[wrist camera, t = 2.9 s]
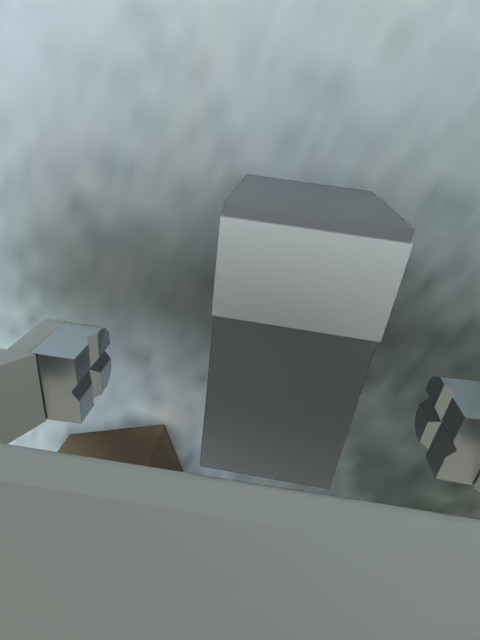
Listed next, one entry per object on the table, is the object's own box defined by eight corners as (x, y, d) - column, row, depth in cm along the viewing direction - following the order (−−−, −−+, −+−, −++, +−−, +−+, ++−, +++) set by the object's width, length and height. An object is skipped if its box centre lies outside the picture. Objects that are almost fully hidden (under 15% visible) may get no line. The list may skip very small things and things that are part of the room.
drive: (372, 191, 12) (417, 229, 8) (320, 389, 16) (331, 492, 12) (246, 173, 13) (221, 201, 8) (223, 373, 16) (197, 468, 12)
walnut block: (164, 423, 18) (123, 520, 14) (194, 497, 20) (167, 602, 16) (70, 433, 19) (3, 526, 15) (108, 502, 21) (59, 602, 17)
